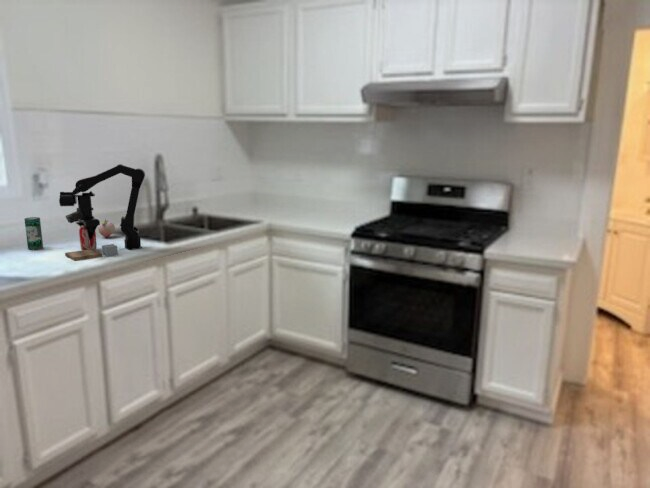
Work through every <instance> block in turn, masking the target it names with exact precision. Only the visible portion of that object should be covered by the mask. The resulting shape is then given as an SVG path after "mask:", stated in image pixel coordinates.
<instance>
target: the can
mask: <svg viewBox="0 0 650 488" xmlns="http://www.w3.org/2000/svg"><path fill="white" fill-rule="evenodd" d="M24 226H25V236H26V242H27V249H29V251H39V250H42V249H44V244H43V242H44V241H43V234H42V225H41V217H37V216H35V217H34V216H31V217H26V218H24Z"/></svg>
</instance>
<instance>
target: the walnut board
mask: <svg viewBox="0 0 650 488" xmlns="http://www.w3.org/2000/svg"><path fill="white" fill-rule="evenodd" d="M64 254H65V257H67V258H69V259H70V260H72V261H75V262H76V261H82V260H83V261H84V260H87V259H96V258H101V257H103V253H102V252H100V251H98V250H96V249H95V250H94V249H89V250H81V249H80V250H76V251H74V250H73V251H67V252H65V253H64Z"/></svg>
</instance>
